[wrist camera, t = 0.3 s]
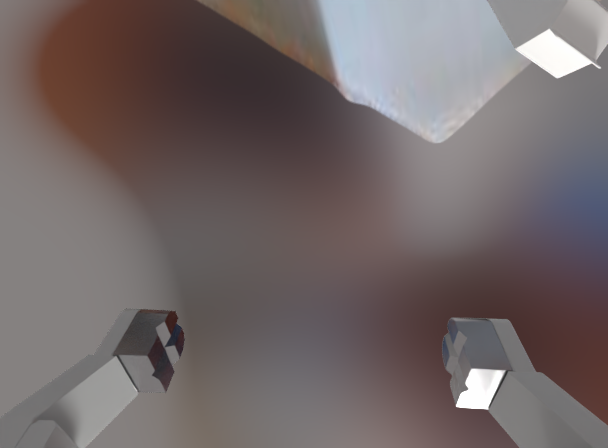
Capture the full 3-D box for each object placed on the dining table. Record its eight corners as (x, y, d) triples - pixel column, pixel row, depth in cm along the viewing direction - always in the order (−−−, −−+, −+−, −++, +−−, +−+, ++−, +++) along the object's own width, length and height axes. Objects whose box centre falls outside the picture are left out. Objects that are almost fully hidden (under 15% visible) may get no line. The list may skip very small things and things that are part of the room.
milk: (516, -71, 41) (593, -3, 27) (552, -41, 43) (642, 37, 29) (475, -17, 46) (523, 65, 32) (509, 8, 47) (569, 96, 33)
